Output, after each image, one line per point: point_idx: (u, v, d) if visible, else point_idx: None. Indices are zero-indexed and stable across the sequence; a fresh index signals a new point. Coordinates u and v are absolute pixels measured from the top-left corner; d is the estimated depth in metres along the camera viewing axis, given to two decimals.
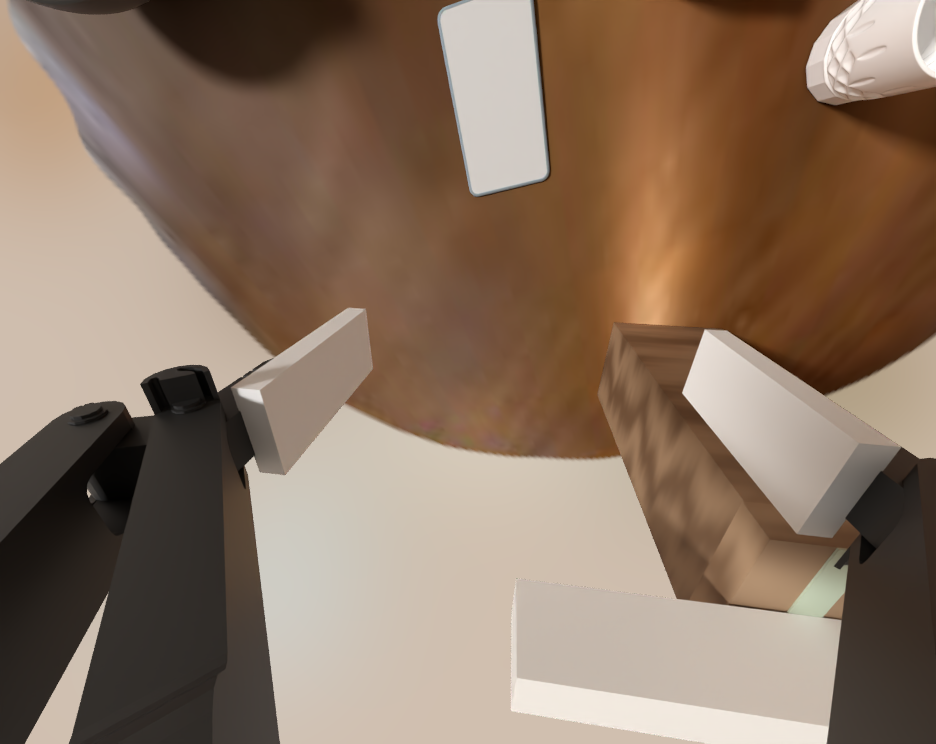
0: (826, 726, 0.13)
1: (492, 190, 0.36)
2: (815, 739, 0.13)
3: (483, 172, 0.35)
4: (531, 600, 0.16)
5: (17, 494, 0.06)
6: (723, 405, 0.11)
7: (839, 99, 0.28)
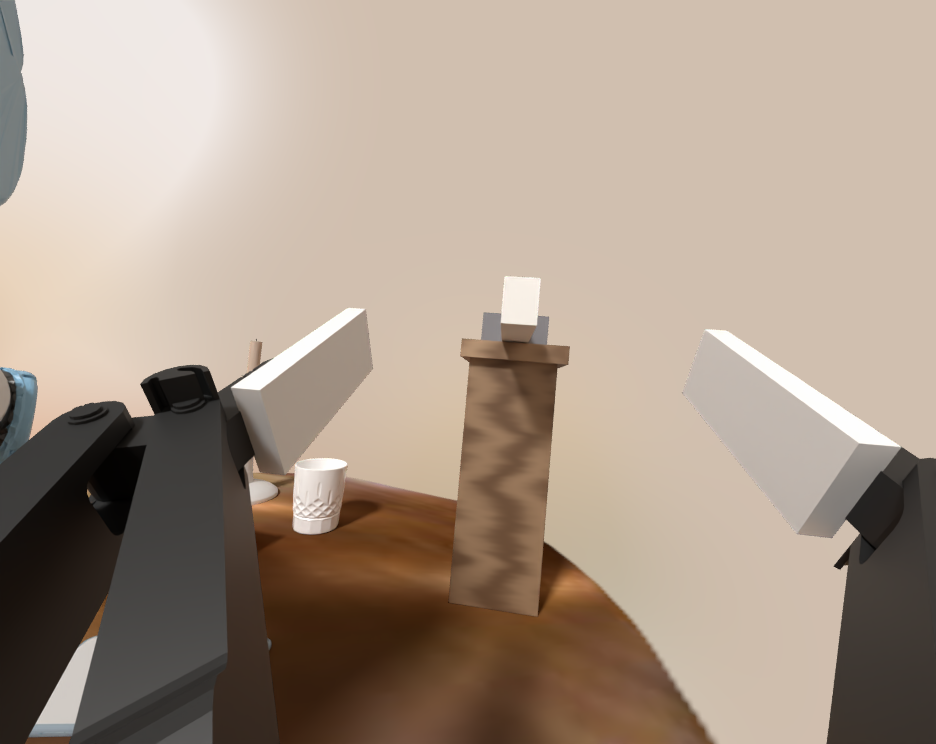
0: None
1: None
2: None
3: None
4: None
5: (17, 494, 0.06)
6: (723, 404, 0.11)
7: (333, 519, 0.55)
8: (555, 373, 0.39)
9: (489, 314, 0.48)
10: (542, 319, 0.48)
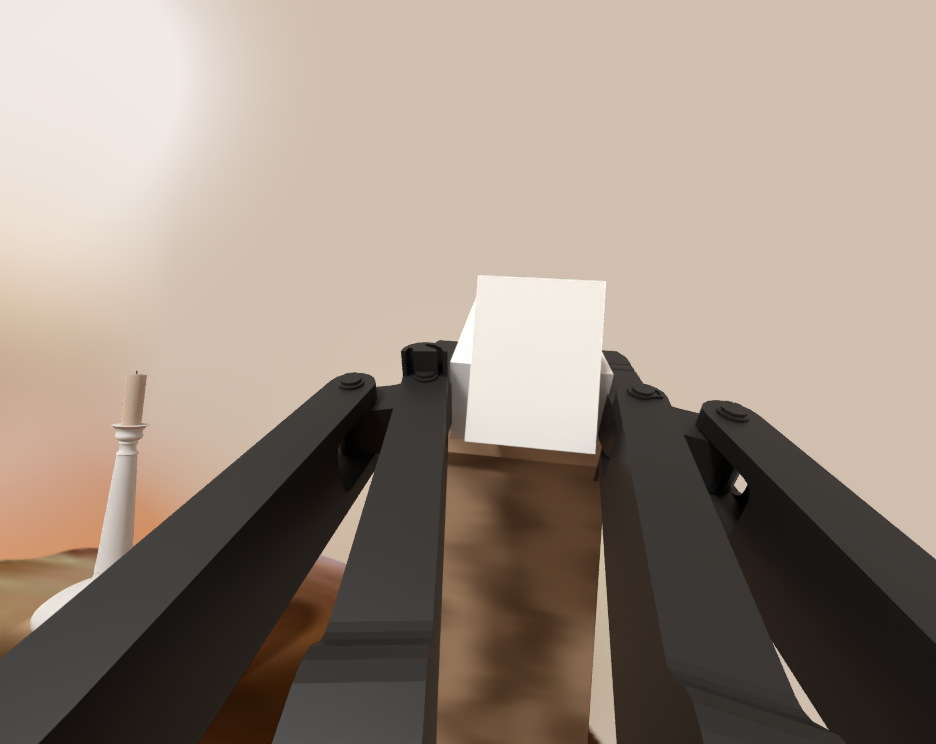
0: None
1: None
2: None
3: None
4: None
5: (300, 441, 0.07)
6: None
7: None
8: None
9: None
10: None
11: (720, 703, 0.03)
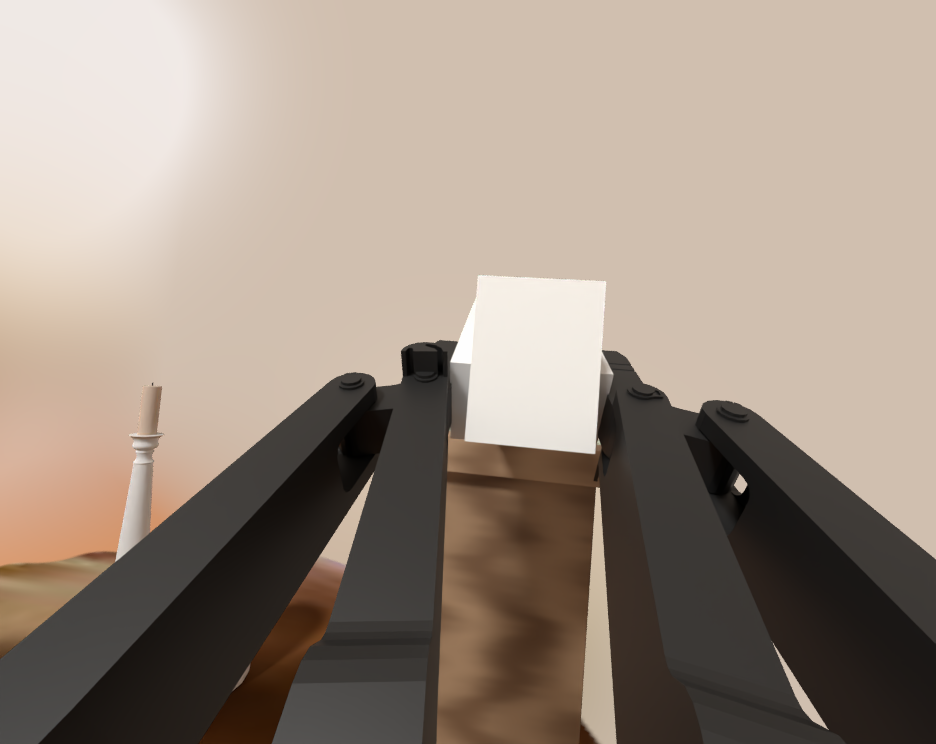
0: None
1: None
2: None
3: None
4: None
5: (300, 441, 0.07)
6: None
7: None
8: (592, 500, 0.20)
9: None
10: None
11: (720, 704, 0.03)
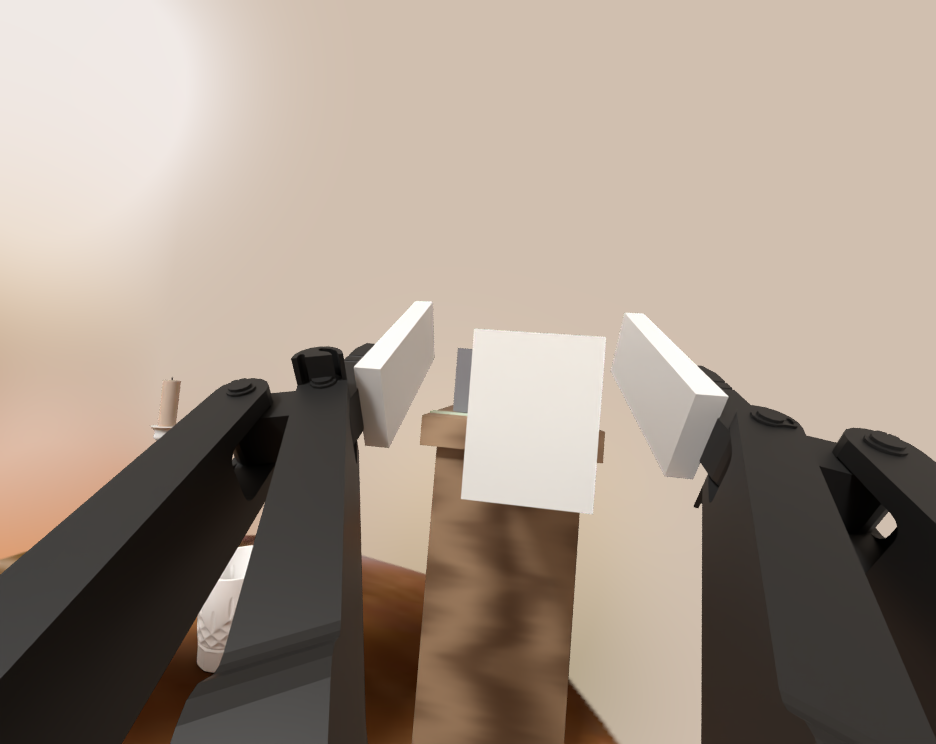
0: None
1: None
2: None
3: None
4: None
5: (184, 453, 0.06)
6: (631, 377, 0.13)
7: None
8: None
9: (468, 351, 0.27)
10: None
11: None
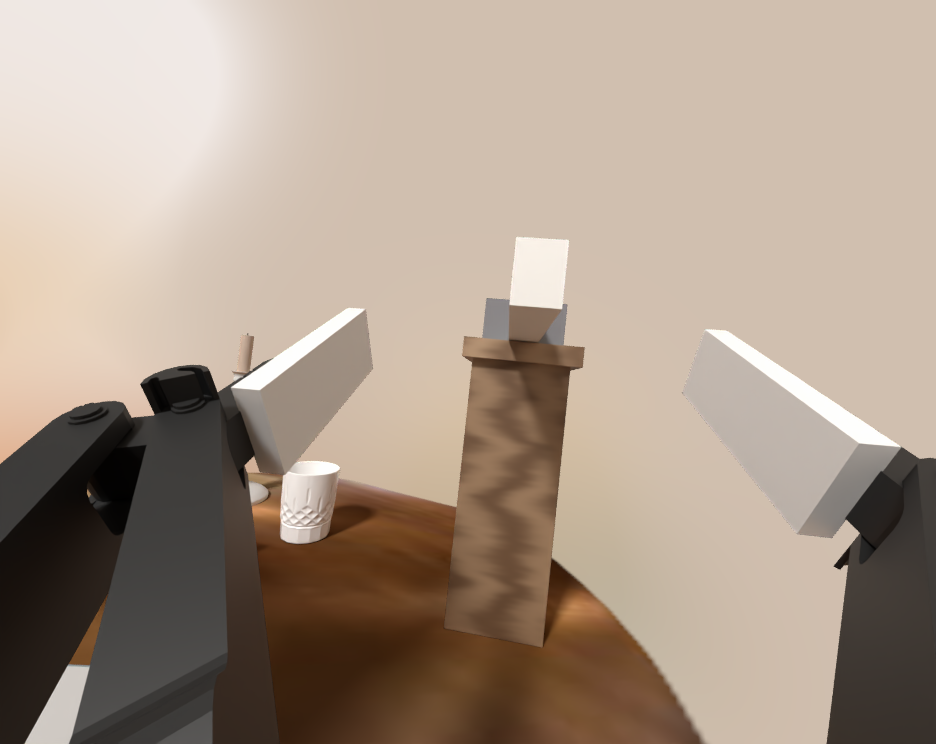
0: None
1: None
2: None
3: None
4: None
5: (17, 494, 0.06)
6: (723, 405, 0.11)
7: (324, 527, 0.51)
8: (567, 377, 0.35)
9: (493, 300, 0.39)
10: None
11: None
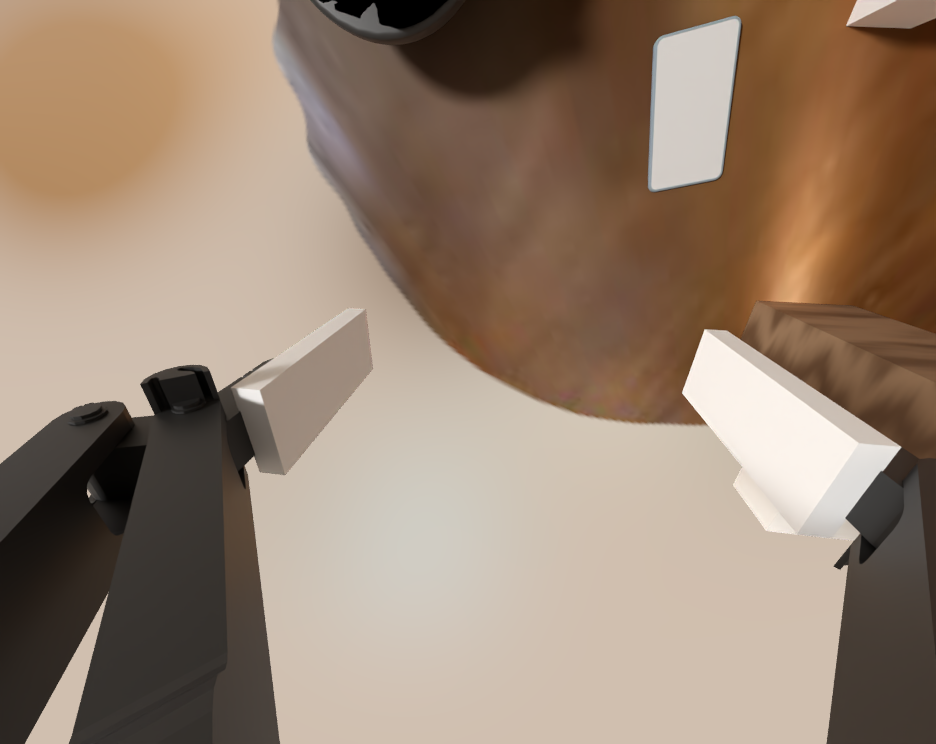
0: None
1: (669, 187, 0.43)
2: None
3: (664, 171, 0.42)
4: None
5: (17, 494, 0.06)
6: (723, 405, 0.11)
7: None
8: None
9: None
10: None
11: None
